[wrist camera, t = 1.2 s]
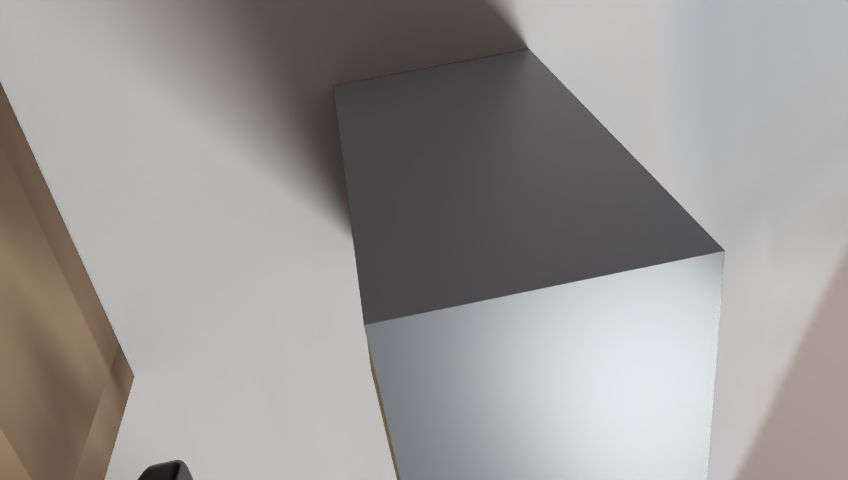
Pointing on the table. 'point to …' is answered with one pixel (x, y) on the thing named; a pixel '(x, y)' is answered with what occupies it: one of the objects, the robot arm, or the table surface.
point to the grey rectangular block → (524, 282)
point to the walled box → (50, 335)
